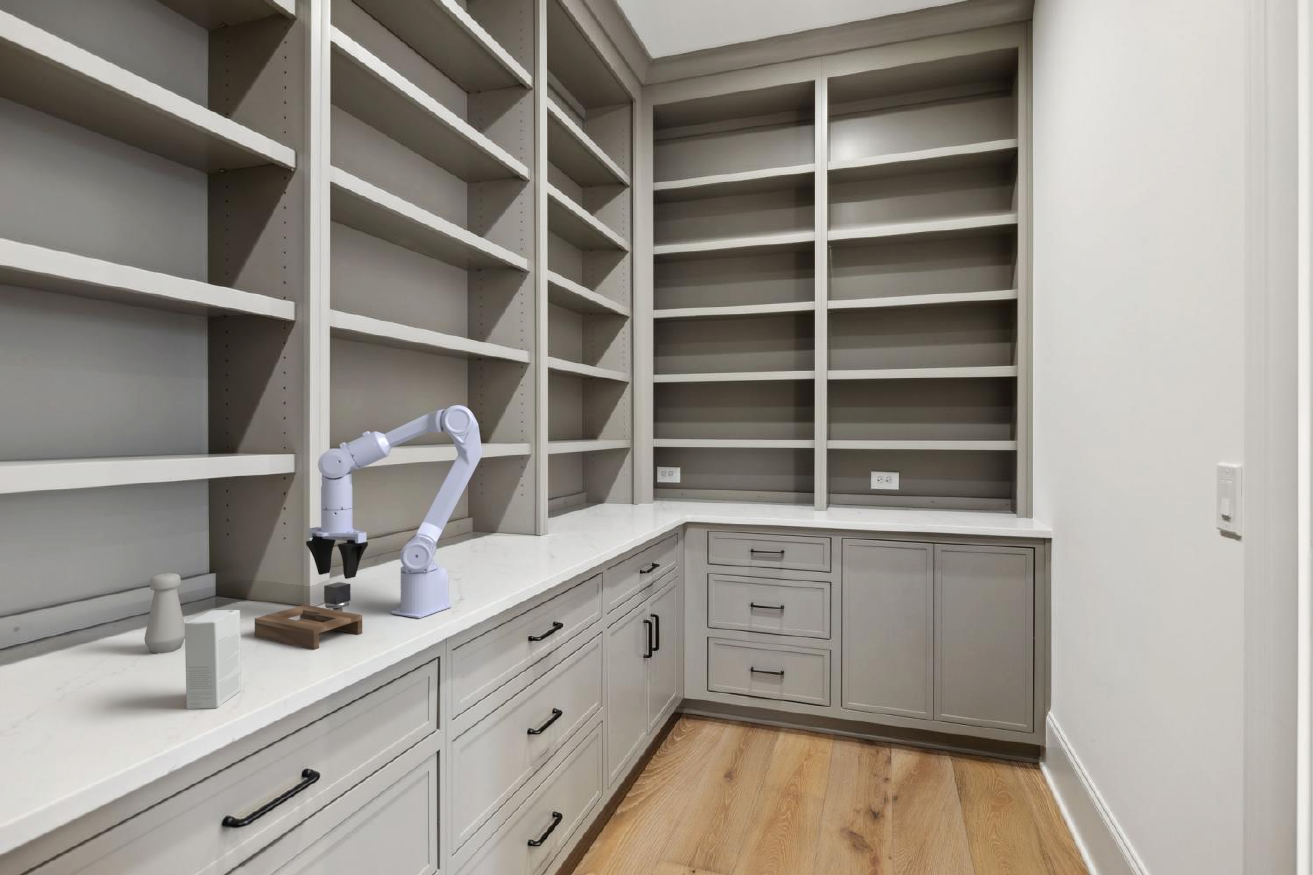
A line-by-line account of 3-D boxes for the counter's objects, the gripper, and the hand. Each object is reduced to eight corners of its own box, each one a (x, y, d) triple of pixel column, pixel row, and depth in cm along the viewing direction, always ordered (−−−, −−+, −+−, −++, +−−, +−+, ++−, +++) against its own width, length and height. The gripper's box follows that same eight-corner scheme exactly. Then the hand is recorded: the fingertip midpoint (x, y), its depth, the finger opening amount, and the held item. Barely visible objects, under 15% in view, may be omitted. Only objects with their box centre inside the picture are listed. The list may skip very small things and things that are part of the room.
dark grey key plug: (339, 613, 134) (339, 581, 134) (354, 615, 132) (354, 583, 132) (320, 618, 130) (320, 585, 130) (335, 621, 128) (335, 588, 128)
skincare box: (211, 691, 94) (211, 609, 94) (242, 690, 94) (241, 609, 94) (184, 709, 88) (183, 622, 88) (216, 709, 88) (216, 621, 88)
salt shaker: (163, 656, 108) (162, 579, 108) (135, 654, 109) (134, 577, 109) (194, 645, 114) (194, 571, 114) (167, 642, 115) (167, 570, 115)
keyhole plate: (304, 621, 127) (304, 604, 127) (362, 633, 121) (362, 614, 121) (254, 636, 118) (254, 618, 118) (313, 649, 112) (313, 630, 112)
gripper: (294, 508, 130) (294, 575, 130) (344, 513, 124) (345, 583, 124) (325, 504, 136) (325, 569, 136) (375, 508, 130) (375, 576, 130)
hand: (337, 575), depth 131 cm, fingers open, 7 cm apart
